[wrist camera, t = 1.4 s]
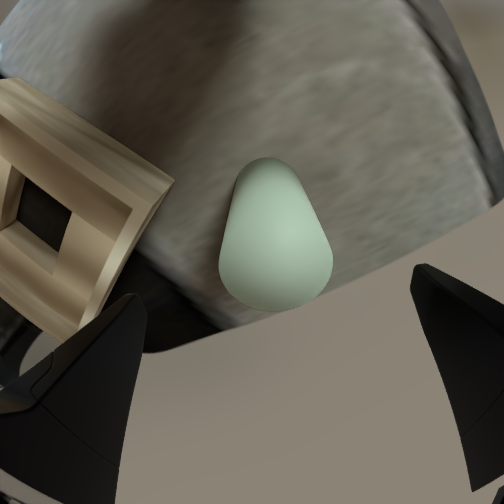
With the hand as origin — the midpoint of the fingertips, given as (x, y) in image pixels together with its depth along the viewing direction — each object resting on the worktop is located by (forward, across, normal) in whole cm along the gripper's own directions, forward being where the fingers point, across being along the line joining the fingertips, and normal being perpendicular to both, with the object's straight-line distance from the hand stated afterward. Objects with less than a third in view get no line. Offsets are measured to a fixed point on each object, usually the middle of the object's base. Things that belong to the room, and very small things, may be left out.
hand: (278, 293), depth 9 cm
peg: (+10, 0, 0) cm, 11 cm away
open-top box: (+10, +17, -1) cm, 20 cm away
